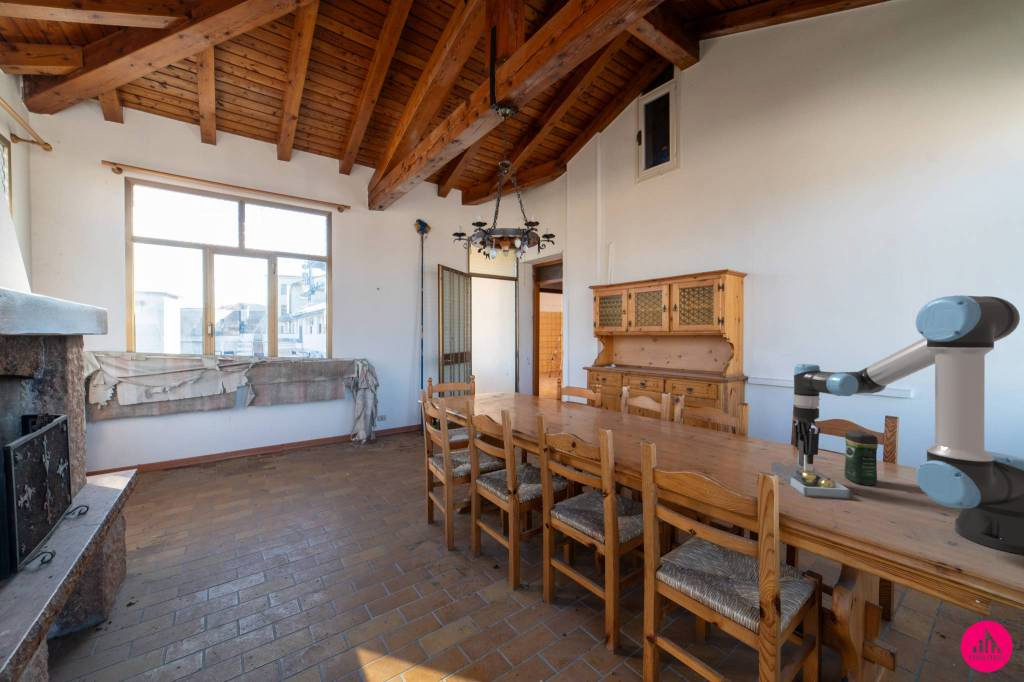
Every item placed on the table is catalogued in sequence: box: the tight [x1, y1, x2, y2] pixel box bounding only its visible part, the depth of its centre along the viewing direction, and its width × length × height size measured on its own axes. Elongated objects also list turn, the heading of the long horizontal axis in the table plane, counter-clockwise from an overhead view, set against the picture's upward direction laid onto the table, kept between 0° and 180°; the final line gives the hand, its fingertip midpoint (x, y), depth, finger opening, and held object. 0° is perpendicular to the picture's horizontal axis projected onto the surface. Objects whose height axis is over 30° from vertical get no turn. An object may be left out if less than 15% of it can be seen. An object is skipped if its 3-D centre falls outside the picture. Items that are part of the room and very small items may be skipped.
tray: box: [790, 478, 851, 500], centre depth 139 cm, size 9×14×3 cm, turn 81°
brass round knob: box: [802, 471, 816, 484], centre depth 144 cm, size 4×4×3 cm
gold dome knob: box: [817, 478, 836, 488], centre depth 139 cm, size 4×4×3 cm
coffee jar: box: [844, 429, 879, 486], centre depth 149 cm, size 10×8×19 cm
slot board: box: [771, 461, 832, 486], centre depth 151 cm, size 16×12×4 cm
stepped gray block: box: [796, 439, 816, 476], centre depth 147 cm, size 3×4×13 cm
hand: (805, 470), depth 148 cm, fingers closed on stepped gray block, 3 cm apart
